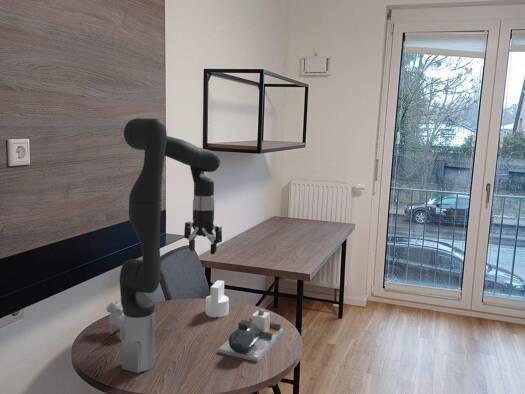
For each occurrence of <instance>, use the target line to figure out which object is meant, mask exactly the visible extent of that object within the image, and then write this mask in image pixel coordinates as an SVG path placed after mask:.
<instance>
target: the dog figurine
mask: <svg viewBox="0 0 525 394" xmlns="http://www.w3.org/2000/svg"><path fill="white" fill-rule="evenodd" d="M106 312H108V313H110V315H109V317H108V318H109V319H108V322H109V328H110V332H109V334H110V335H111V334H112V335H113V334H114V333H115V328H118V330H119V340H120V341H122V339H124V314H123V307H122V304H121V301H118V300H117V301H115V303H114V302H110V303H109V304H108V305H107V306H106Z"/></svg>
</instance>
